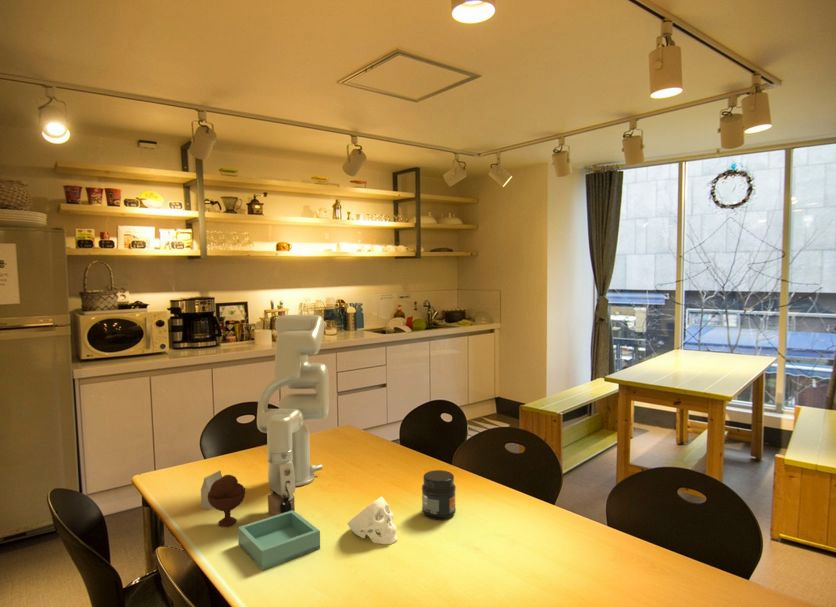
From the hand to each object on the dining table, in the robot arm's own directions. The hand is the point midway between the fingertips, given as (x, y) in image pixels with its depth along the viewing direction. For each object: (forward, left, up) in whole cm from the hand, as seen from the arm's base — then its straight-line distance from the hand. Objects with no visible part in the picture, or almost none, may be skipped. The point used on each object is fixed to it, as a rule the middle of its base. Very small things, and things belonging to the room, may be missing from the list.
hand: (281, 511), depth 164 cm
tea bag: (+14, -21, -1) cm, 25 cm away
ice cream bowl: (+15, -5, -1) cm, 16 cm away
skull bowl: (-15, +29, -1) cm, 33 cm away
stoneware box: (+9, +18, -1) cm, 20 cm away
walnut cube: (0, 0, -1) cm, 1 cm away
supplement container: (-38, +31, -1) cm, 49 cm away
